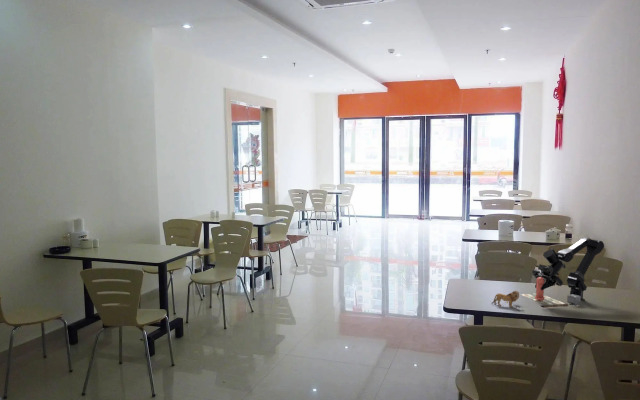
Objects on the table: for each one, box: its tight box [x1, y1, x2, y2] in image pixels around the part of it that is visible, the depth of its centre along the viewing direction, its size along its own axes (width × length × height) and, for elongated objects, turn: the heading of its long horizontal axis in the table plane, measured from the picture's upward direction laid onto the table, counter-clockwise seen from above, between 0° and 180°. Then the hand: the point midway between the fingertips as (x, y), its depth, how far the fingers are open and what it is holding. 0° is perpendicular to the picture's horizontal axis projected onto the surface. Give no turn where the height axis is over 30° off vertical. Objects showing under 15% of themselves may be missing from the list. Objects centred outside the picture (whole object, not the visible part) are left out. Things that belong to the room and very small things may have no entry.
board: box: [520, 292, 569, 309], centre depth 280 cm, size 16×23×1 cm
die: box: [566, 294, 582, 307], centre depth 275 cm, size 5×5×5 cm
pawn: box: [534, 277, 546, 301], centre depth 276 cm, size 5×5×13 cm
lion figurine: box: [491, 290, 520, 308], centre depth 270 cm, size 15×5×9 cm, turn 76°
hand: (538, 288), depth 276 cm, fingers closed on pawn, 4 cm apart
